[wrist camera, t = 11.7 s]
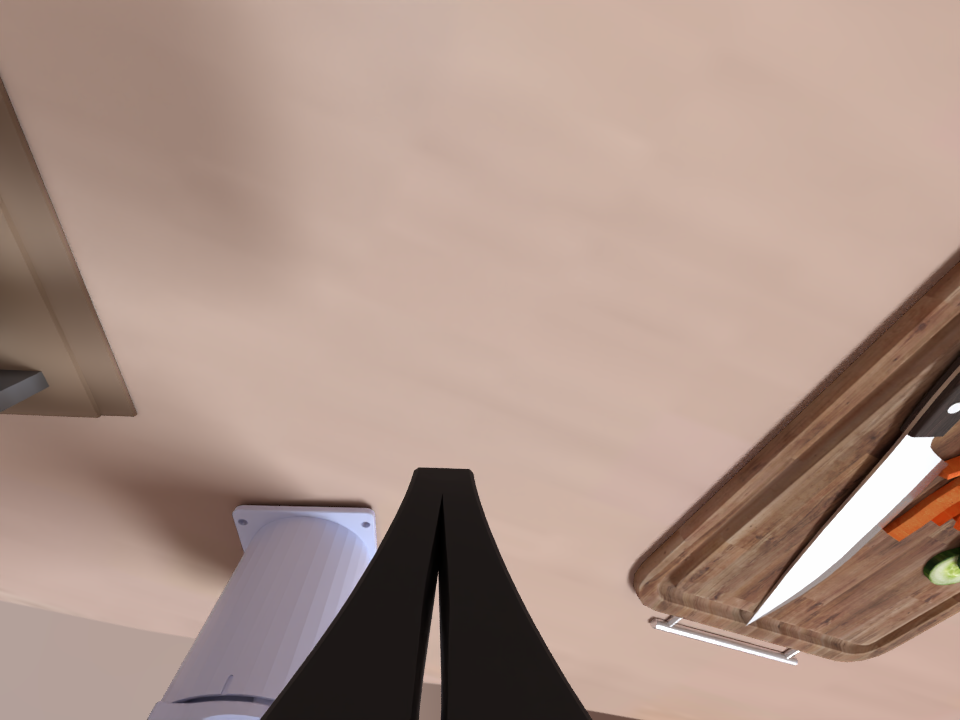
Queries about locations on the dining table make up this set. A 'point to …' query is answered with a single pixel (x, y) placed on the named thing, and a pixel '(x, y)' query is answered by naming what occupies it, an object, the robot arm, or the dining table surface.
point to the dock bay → (46, 302)
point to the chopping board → (836, 511)
